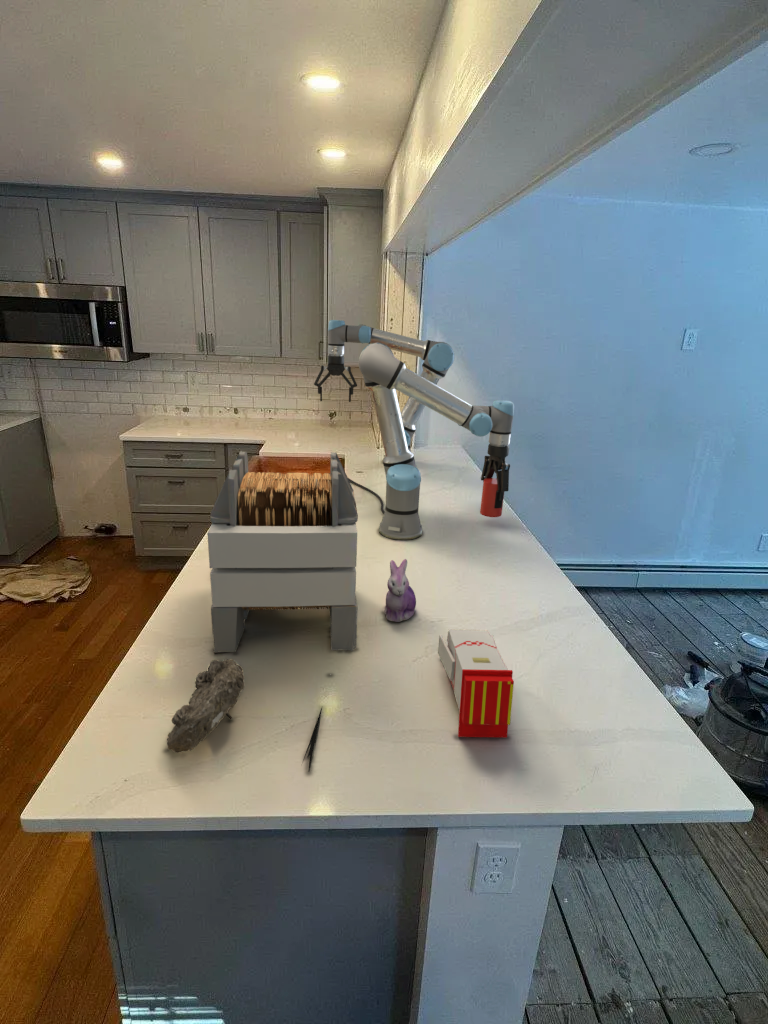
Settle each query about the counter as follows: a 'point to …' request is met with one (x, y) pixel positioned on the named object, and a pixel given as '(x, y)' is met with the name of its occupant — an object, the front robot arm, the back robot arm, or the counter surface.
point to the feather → (313, 740)
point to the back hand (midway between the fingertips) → (335, 401)
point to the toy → (478, 682)
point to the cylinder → (490, 498)
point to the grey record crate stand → (283, 549)
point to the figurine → (399, 594)
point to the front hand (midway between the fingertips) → (491, 504)
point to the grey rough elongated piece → (206, 705)
